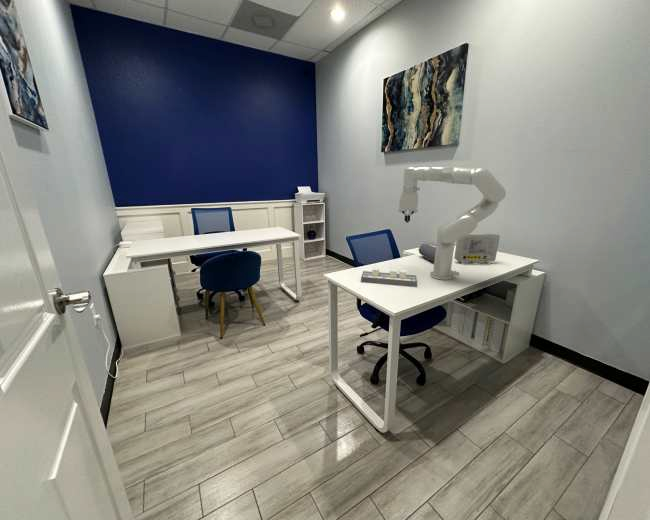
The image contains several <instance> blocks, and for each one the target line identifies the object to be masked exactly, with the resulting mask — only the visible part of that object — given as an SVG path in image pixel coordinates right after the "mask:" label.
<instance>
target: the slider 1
mask: <svg viewBox="0 0 650 520" xmlns="http://www.w3.org/2000/svg"><path fill="white" fill-rule="evenodd" d="M371 272H372V276H378V275H379V272H380V267H378V266H377V267H376V266H373V267H372V269H371Z"/></svg>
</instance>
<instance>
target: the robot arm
mask: <svg viewBox="0 0 650 520" xmlns="http://www.w3.org/2000/svg"><path fill="white" fill-rule="evenodd" d="M403 172H404V173H403V184H402V191H401V193H400V196H399V205H398V213H401V214H403V215H404V222H405V223H407V224H409V222H411V216H412V215H413V214H416V213H418V211H419V210H418V207H419V194H418V191H420V187H418V181H421V182H427V181H428V182H429V181H430V182H441V183H446V184H455V185H470V186H475V187H476V188H477V189H478V191H480V193H481V194H482V195H483V196H482V198H481V201H480V202H478V203H477V204H476V205H474V206H472V207H471V208H469V209H467V210H466V211H464V212H463V213H461V214H459V215H458V216H457V217H456V220H454V221H453V222H451V223H450V222H444V223H442V224H441V225H440V226H439V227H438V229H437V233H436V244H435V245H436V246H435V247H436V252H435V260H434V263H433V268H432V269H433V270H432V271H431V272H430V273H429V276H430V277H431V278H432V279H437V280H442V281H449V280H453V278H454V276H460V271H456V270H452V266H453V259H454V253H455V251H454V250H455V245H456V244H455V242H457V240H459V239H460V238H462V237H464V236H466V235H468V234H472V232H474V231H475V230H476V228H477V227H478V223H480V222H482V221H483V220H485V219H486V218H488V217H490V216H491V215H492V214H494V212H496V210H497V208H498V206H499V204H500V202H502V201H503V200H504V199H505V197H506V195H507V191H506V189H505V187H504V186H503V185H502V184H501V183H500V182H499V181H498V179H497V178H496V177H495V176H494V175H493V174H492V173H491V172H490V170H488V169H487V168H485V167H465V166H464V167H463V166H450V167H448V166H447V167H438V166H437V167H436V166H434V167H433V166H421V167H417V166H407V167H405V168H404V171H403ZM407 211H408V214H407Z"/></svg>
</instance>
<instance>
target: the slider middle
mask: <svg viewBox="0 0 650 520" xmlns="http://www.w3.org/2000/svg"><path fill="white" fill-rule="evenodd" d="M389 273H390V277H394V278H397V274H398V269H397V268H390V271H389Z"/></svg>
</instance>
